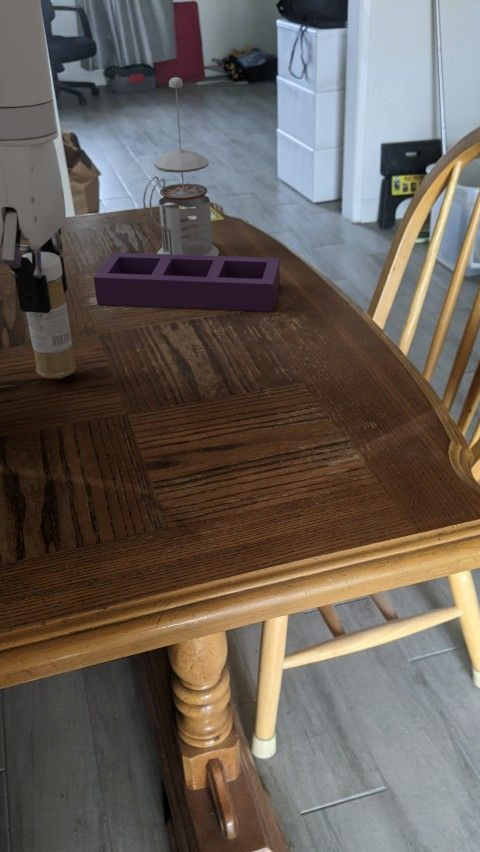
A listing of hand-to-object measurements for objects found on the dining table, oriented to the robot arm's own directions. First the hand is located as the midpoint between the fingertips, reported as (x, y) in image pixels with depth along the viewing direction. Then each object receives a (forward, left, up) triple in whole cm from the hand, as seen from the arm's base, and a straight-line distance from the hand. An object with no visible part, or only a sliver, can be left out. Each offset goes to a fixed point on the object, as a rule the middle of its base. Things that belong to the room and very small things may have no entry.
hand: (44, 299), depth 85 cm
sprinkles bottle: (0, 0, -9) cm, 9 cm away
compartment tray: (+11, +25, -10) cm, 29 cm away
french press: (+7, +40, -10) cm, 42 cm away
